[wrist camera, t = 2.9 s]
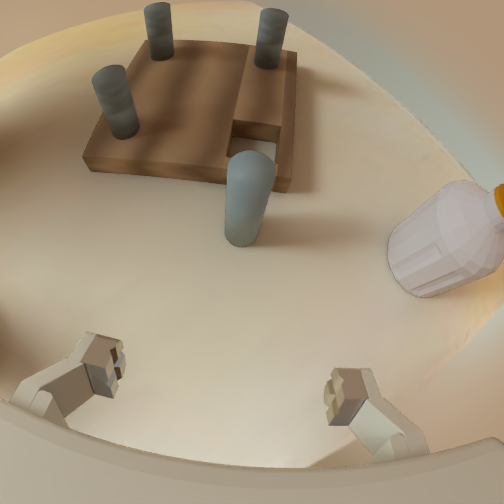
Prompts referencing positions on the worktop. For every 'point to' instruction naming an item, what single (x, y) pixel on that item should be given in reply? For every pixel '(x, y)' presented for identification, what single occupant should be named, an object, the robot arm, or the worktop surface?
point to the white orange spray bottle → (449, 240)
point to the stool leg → (247, 195)
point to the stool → (195, 103)
